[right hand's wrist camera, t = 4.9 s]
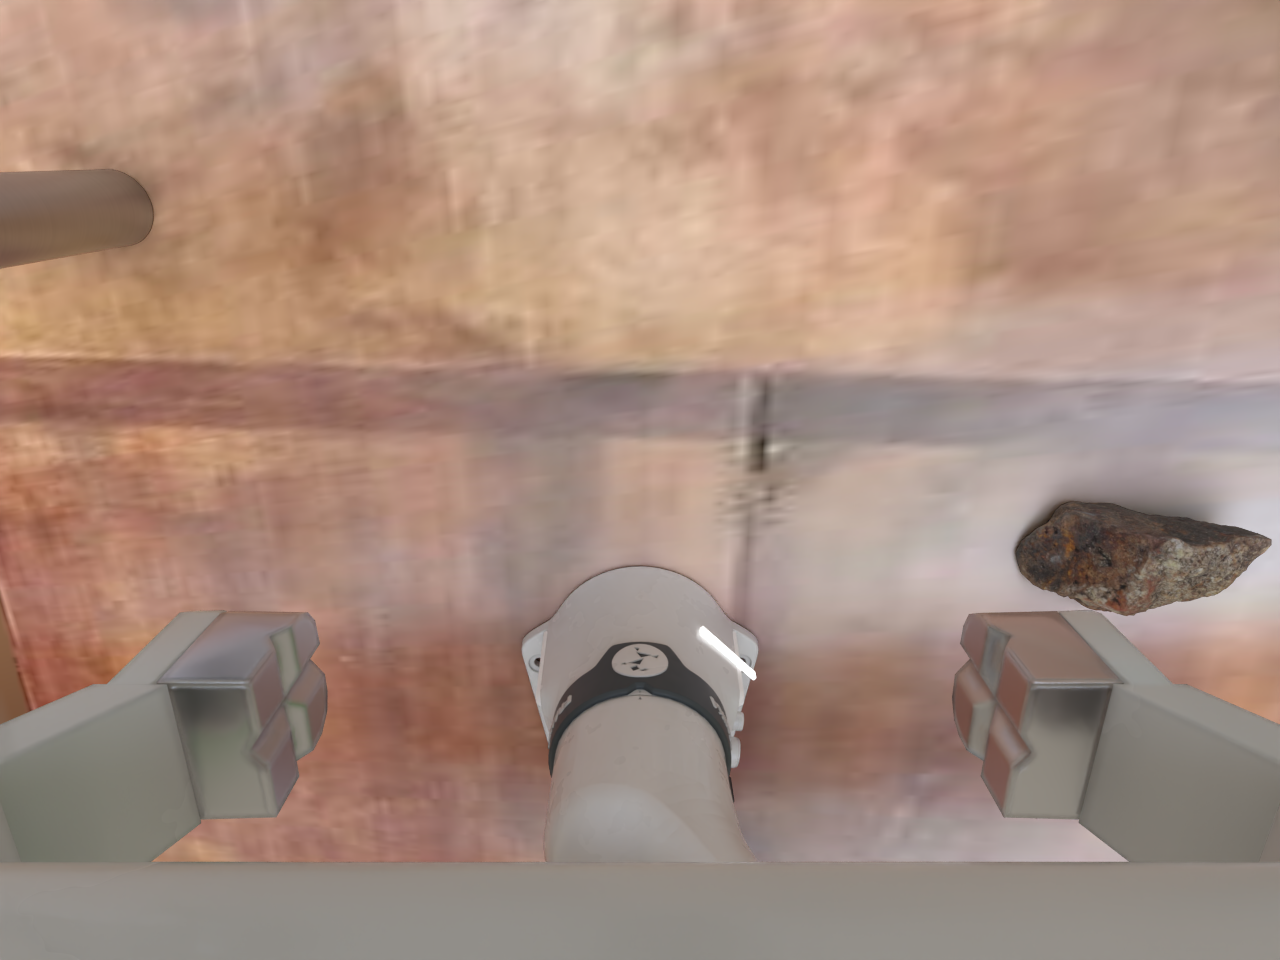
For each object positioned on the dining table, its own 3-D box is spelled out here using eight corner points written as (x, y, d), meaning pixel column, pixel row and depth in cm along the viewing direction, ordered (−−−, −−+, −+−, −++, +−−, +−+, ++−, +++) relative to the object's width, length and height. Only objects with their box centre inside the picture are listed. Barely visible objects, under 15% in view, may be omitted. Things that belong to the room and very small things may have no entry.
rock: (1042, 463, 61) (997, 580, 65) (1092, 507, 53) (1038, 637, 57) (1234, 502, 61) (1178, 616, 65) (1313, 552, 53) (1245, 680, 57)
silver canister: (87, 244, 55) (-179, 287, 37) (71, 167, 53) (-216, 174, 35) (159, 247, 55) (-72, 292, 37) (146, 170, 53) (-103, 179, 35)
